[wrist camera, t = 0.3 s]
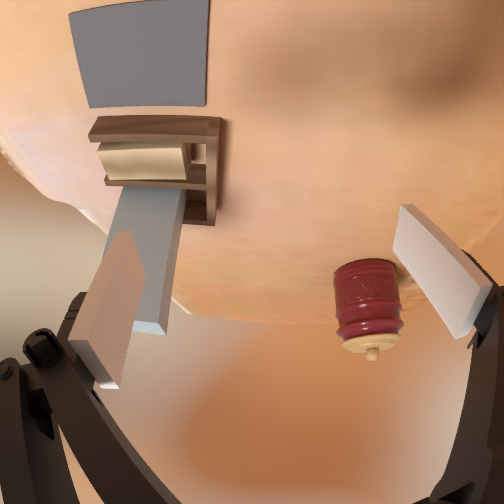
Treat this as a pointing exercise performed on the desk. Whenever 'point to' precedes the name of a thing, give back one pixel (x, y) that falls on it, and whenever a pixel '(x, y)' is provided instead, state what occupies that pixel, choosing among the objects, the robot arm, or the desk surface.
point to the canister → (368, 306)
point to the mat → (143, 53)
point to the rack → (170, 131)
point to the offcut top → (144, 160)
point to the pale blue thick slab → (152, 247)
